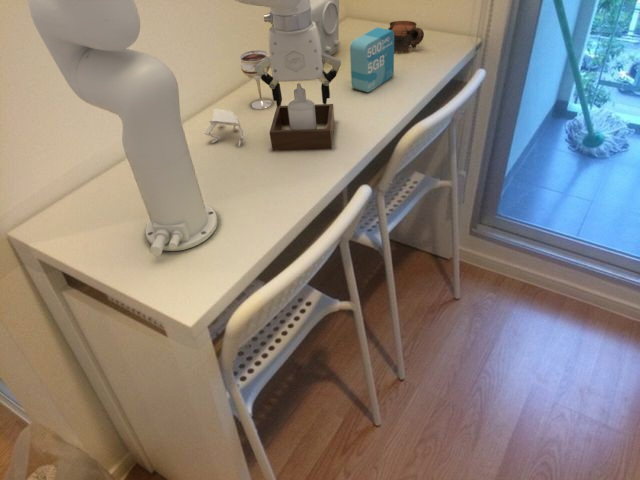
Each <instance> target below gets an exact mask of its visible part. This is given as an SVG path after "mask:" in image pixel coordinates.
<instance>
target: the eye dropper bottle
mask: <svg viewBox="0 0 640 480" xmlns="http://www.w3.org/2000/svg"><path fill="white" fill-rule="evenodd" d="M293 98H294V99H293V100H291V101H290V102H289V103H288V105H287V106H288V114H289V122H290V125H289V130H297V129H318V126H317V125H318V124H316V114H315V105H316V104H315V102H314V101H313V100H311V99H307V93H306V88H303V87H302V85H301V83H297V84H296V88H295V89H294V90H293Z"/></svg>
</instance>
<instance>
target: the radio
mask: <svg viewBox="0 0 640 480" xmlns="http://www.w3.org/2000/svg"><path fill="white" fill-rule="evenodd" d="M310 4H311V14H312V21H313V22H315V23H316V26H317V30H318V33H319V38H320V43H321V49H322V52H323V53H325V54H327V55H330V56H333V55H334V54H335V53H337V51H338V50H339V46H340V45H341V42H340V41H339V38H340V37H339V35H340V29H339V28H340V25H339V24H340V23H339V22H340V0H310Z"/></svg>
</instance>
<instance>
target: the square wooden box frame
mask: <svg viewBox="0 0 640 480" xmlns="http://www.w3.org/2000/svg"><path fill="white" fill-rule="evenodd" d="M314 105H315V114H316V125H326V128H317V129H297V130H290V129H283V126H290V122H289V114H288V105H281V106H277V105H276V108H275V112H274V115H273V118H272V122H271V125H270V129H269V137H270V144H271V150H272V152H280V151H281V152H283V151H313V150H314V151H315V150H332V149H333V140H334V133H335V132H334V131H335V110H334V109H335V108H334V103H326V104H323V103H321V104H316V103H315V104H314Z"/></svg>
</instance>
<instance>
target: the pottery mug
mask: <svg viewBox="0 0 640 480" xmlns="http://www.w3.org/2000/svg"><path fill="white" fill-rule="evenodd" d="M387 30H392V31H393V32H394V52H397V53H409V52H410V48H412V49H416V47H417V45H419V44H421V43H422V41H423V40H424V36H425V32H424V30H423V29H422V28H420V27H417V22H415V21H412V20H397V21H396V20H395V21H391V22H389V27H388V28H387Z"/></svg>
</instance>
